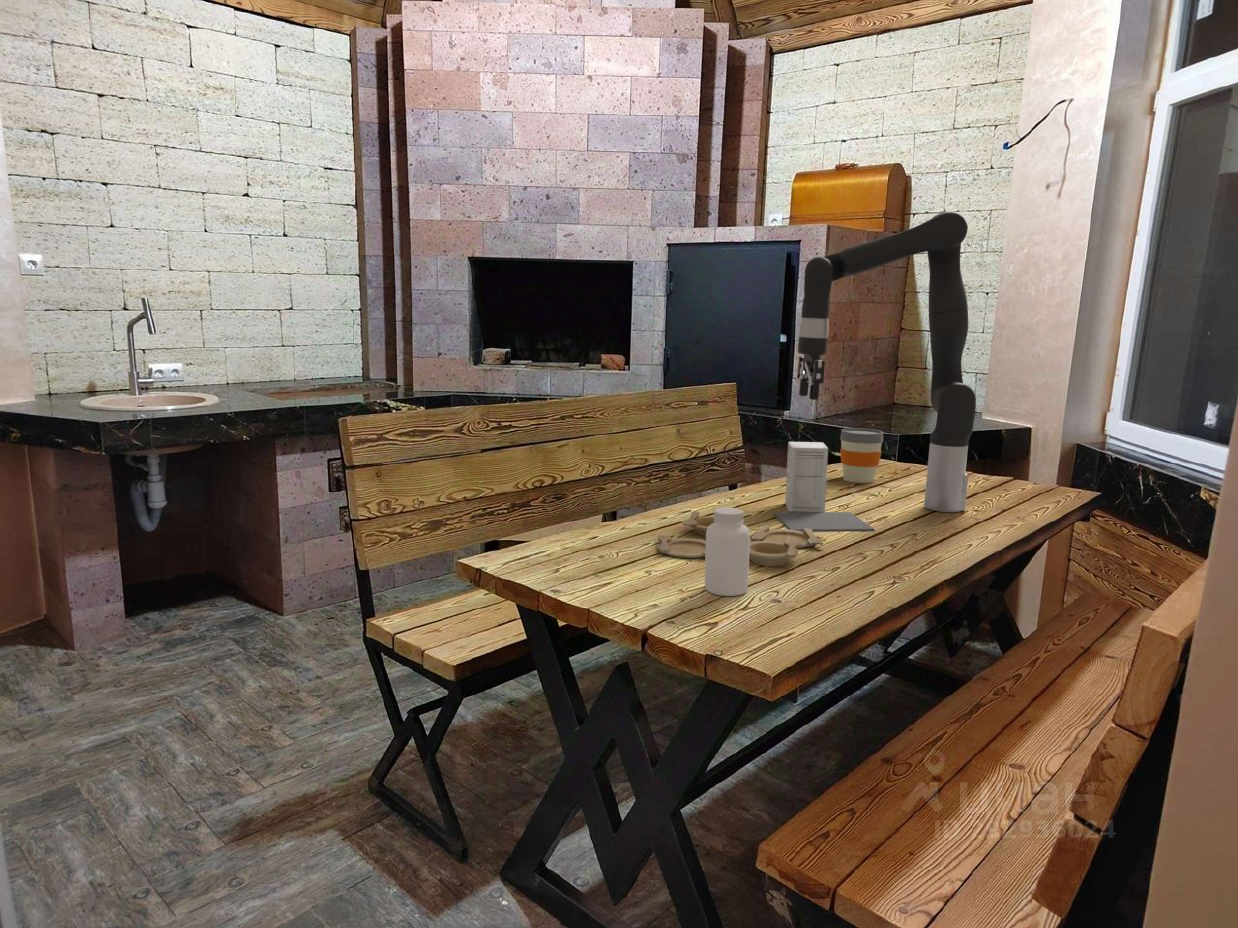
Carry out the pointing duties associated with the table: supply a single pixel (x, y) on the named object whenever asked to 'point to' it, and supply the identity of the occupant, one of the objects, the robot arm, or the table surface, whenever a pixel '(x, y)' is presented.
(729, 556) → the pill bottle
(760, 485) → the table surface
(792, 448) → the supplement box
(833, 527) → the mat
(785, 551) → the tableware set
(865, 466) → the reusable coffee cup
